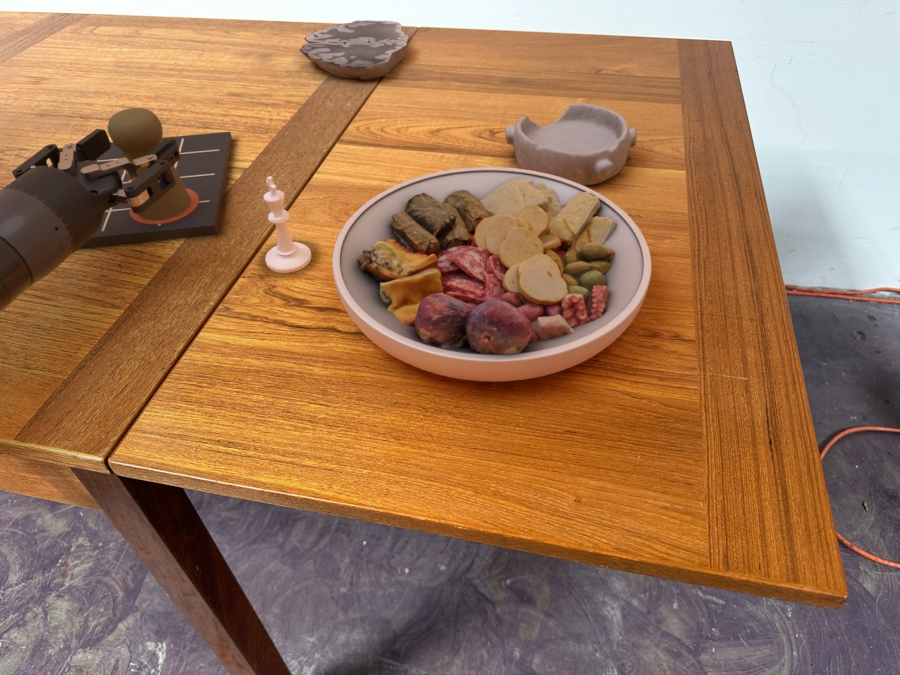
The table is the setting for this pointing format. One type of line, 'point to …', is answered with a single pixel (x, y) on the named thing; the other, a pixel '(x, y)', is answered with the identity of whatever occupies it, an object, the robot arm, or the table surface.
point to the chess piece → (283, 236)
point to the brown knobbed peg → (138, 138)
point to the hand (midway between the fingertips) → (139, 141)
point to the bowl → (491, 272)
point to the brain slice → (357, 48)
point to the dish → (574, 144)
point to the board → (202, 180)
